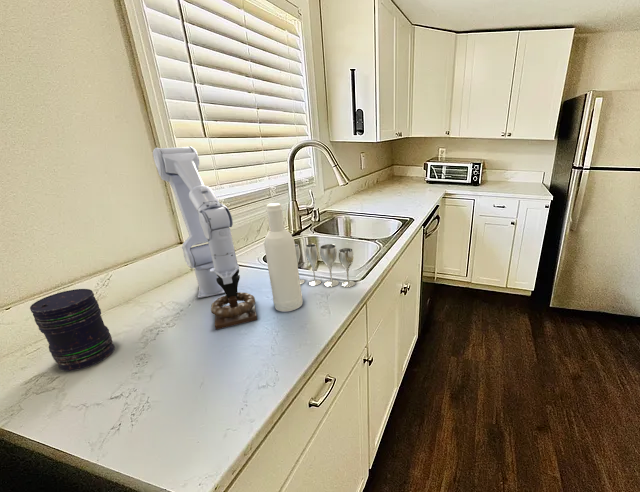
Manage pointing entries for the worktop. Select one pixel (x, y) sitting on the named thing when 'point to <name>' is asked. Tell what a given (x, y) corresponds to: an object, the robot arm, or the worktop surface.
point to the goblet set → (328, 261)
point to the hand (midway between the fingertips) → (233, 296)
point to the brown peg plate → (226, 322)
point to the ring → (235, 311)
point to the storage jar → (73, 329)
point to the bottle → (282, 262)
